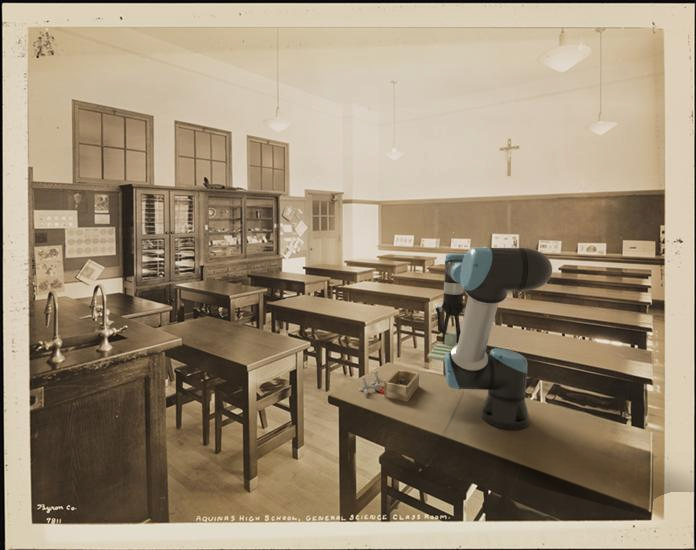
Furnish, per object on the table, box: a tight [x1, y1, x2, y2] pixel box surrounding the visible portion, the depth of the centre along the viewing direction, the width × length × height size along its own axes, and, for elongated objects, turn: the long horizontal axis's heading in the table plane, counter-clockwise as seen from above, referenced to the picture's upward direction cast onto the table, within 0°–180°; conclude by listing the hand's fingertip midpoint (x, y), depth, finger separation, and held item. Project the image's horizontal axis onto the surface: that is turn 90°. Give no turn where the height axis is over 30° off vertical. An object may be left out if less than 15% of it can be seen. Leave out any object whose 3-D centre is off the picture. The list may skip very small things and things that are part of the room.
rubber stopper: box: [400, 379, 406, 385], centre depth 161 cm, size 2×2×3 cm
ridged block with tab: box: [426, 330, 456, 361], centre depth 157 cm, size 10×22×5 cm, turn 155°
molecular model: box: [358, 370, 388, 395], centre depth 158 cm, size 14×8×10 cm
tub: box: [383, 369, 420, 403], centre depth 157 cm, size 9×15×6 cm, turn 155°
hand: (450, 349), depth 165 cm, fingers closed on ridged block with tab, 3 cm apart
